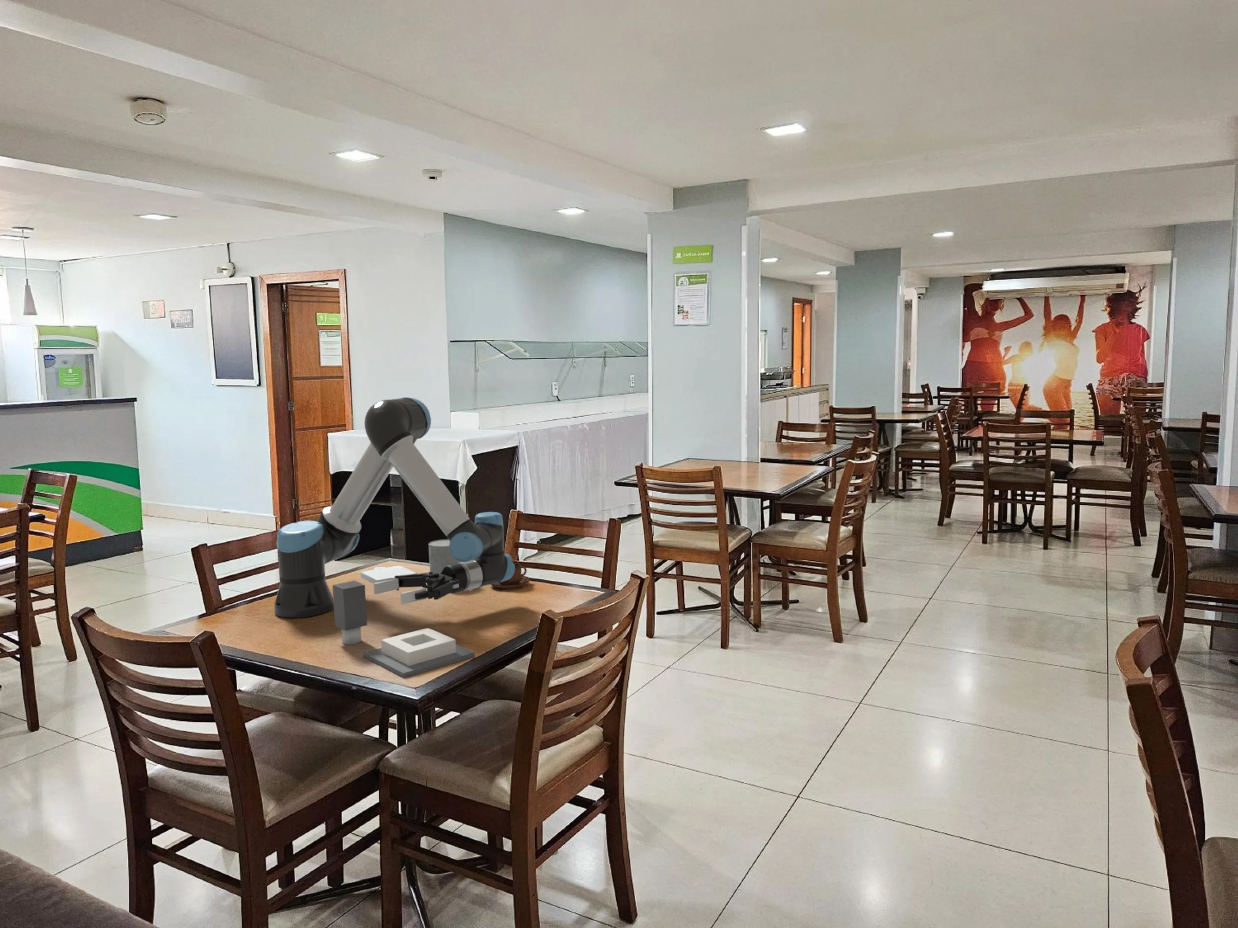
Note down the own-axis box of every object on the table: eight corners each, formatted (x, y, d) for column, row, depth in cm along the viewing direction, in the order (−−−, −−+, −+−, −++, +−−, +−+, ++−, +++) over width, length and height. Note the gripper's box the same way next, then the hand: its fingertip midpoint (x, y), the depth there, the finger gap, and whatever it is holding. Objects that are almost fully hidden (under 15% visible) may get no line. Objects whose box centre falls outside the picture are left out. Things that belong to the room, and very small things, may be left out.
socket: (363, 656, 195) (362, 639, 195) (432, 638, 208) (432, 622, 207) (403, 677, 182) (402, 659, 182) (474, 656, 195) (474, 639, 194)
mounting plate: (357, 576, 269) (357, 570, 269) (396, 569, 277) (396, 563, 277) (380, 588, 255) (380, 581, 255) (421, 580, 263) (420, 574, 263)
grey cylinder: (455, 587, 253) (453, 546, 252) (424, 586, 255) (423, 545, 253) (467, 579, 262) (465, 539, 261) (437, 577, 264) (436, 538, 263)
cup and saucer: (505, 579, 262) (505, 559, 262) (537, 583, 256) (537, 563, 256) (480, 588, 252) (479, 568, 251) (513, 593, 246) (512, 572, 245)
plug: (335, 641, 206) (332, 584, 205) (357, 636, 210) (354, 580, 208) (346, 646, 202) (343, 589, 201) (367, 641, 206) (364, 584, 204)
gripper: (488, 599, 217) (414, 618, 203) (436, 582, 235) (365, 598, 221) (487, 570, 216) (412, 587, 202) (435, 555, 235) (363, 570, 220)
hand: (387, 593), depth 211 cm, fingers open, 13 cm apart
